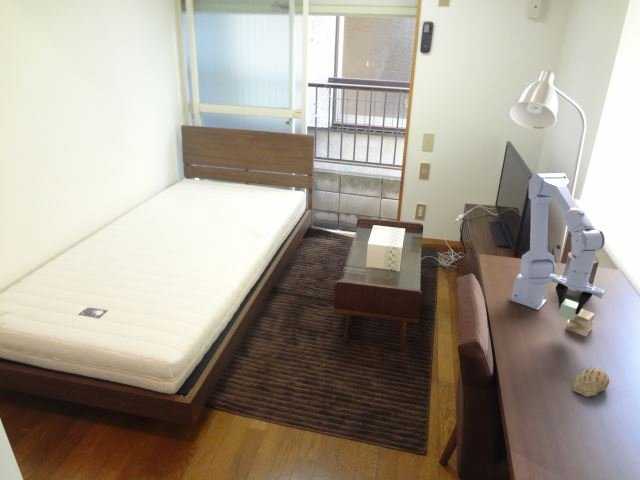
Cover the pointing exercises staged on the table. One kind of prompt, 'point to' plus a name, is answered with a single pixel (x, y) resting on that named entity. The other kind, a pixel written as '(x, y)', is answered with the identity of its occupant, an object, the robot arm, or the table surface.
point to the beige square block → (583, 318)
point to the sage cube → (568, 309)
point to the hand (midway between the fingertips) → (569, 310)
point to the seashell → (590, 382)
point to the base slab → (578, 328)
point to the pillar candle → (591, 279)
